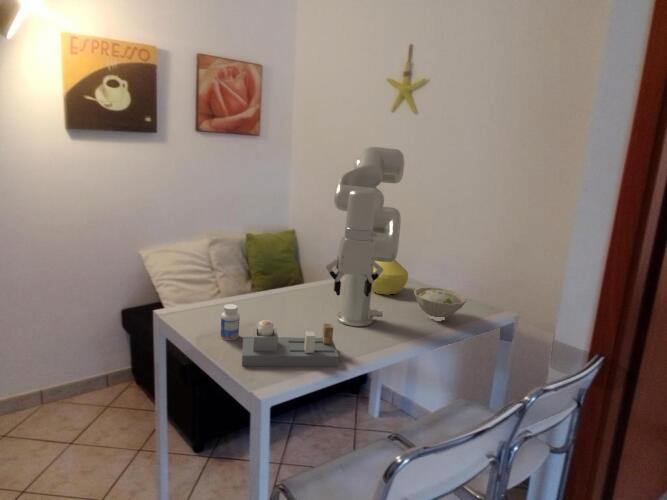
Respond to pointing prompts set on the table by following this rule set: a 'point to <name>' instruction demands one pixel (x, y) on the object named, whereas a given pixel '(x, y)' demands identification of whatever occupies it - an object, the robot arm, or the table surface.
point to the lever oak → (327, 333)
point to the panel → (286, 351)
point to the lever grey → (309, 342)
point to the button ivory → (265, 328)
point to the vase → (390, 278)
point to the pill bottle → (230, 322)
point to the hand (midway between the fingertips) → (351, 294)
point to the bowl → (439, 301)
